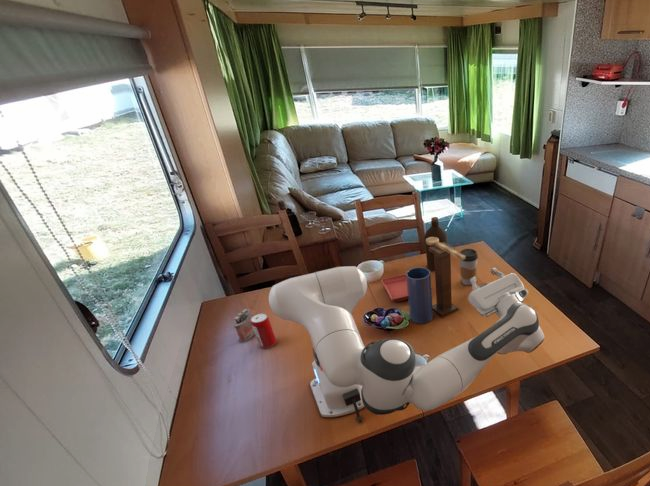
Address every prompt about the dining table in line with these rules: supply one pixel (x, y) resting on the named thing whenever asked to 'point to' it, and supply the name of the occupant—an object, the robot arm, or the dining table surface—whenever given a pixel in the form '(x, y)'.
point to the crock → (419, 294)
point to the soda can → (263, 330)
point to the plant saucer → (396, 287)
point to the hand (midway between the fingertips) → (482, 273)
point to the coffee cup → (468, 266)
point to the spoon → (444, 247)
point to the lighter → (244, 325)
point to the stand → (443, 281)
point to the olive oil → (434, 232)
